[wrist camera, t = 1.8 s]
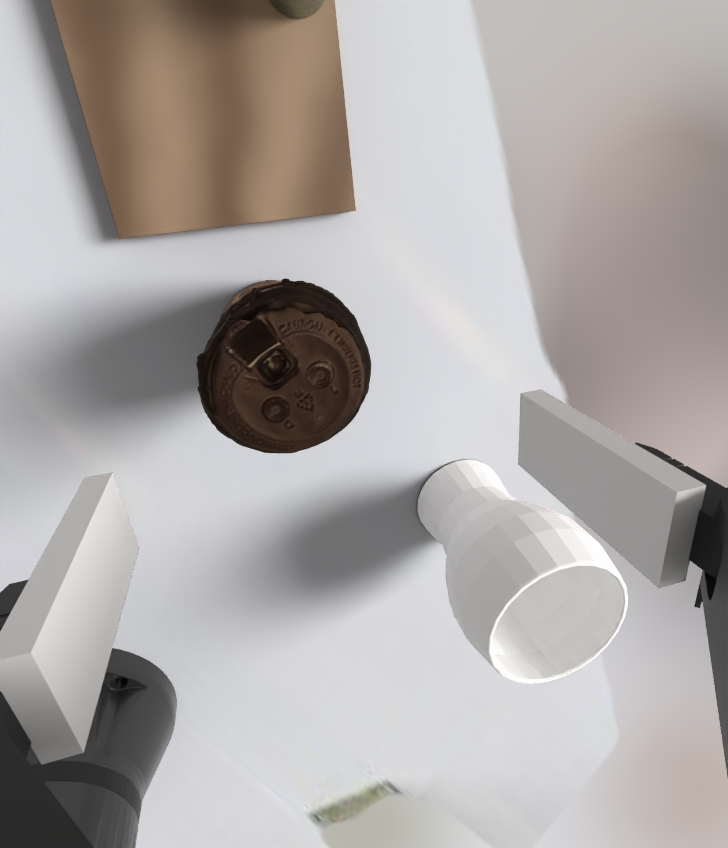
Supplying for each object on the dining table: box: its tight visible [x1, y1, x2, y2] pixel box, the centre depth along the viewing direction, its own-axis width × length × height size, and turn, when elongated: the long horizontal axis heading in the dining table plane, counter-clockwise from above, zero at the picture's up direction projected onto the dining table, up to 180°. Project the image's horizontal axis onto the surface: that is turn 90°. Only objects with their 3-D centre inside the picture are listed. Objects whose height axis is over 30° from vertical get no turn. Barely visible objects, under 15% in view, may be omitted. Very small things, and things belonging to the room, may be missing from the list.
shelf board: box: [50, 0, 356, 239], centre depth 26 cm, size 14×15×4 cm
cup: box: [418, 460, 628, 684], centre depth 37 cm, size 11×11×15 cm
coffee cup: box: [197, 279, 371, 453], centre depth 28 cm, size 9×8×13 cm
